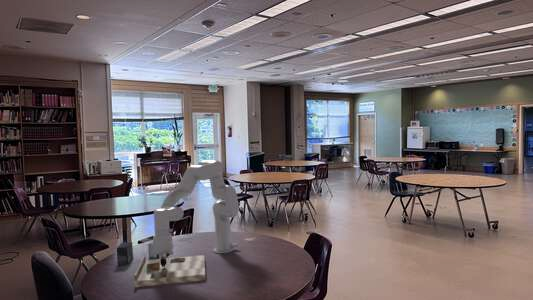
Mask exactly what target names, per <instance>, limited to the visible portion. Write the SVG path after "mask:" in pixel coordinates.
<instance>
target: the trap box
mask: <svg viewBox="0 0 533 300" xmlns="http://www.w3.org/2000/svg"><path fill="white" fill-rule="evenodd" d="M146 259H147V258H146V255H143V256H142V258H141V260H140V262H139V265H138V266H137V269H136V271H135V273H134V276H133V277H134V278H133V279H134V288H140V287H141V288H142V287H150V286H160V285H161V286H162V285H172V284H180V283H181V284H182V283H190V282H198V281H206V265H205V263H206V262H205V254H204V255H191V256H183V257H182V256H181V257H169V258H168V257H167V258H166V265H165V267H164V266H163V267H162V265H160V268H159V270H158V271H148V272H147V262H148V260H149V259H148V260H146Z"/></svg>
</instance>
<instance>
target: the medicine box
mask: <svg viewBox="0 0 533 300" xmlns="http://www.w3.org/2000/svg"><path fill="white" fill-rule="evenodd" d="M147 249H148V258H158V257H157V256H153V241H150V242H149V243H147ZM164 255H165V254H162V257H164Z"/></svg>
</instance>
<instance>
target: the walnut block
mask: <svg viewBox="0 0 533 300" xmlns="http://www.w3.org/2000/svg"><path fill="white" fill-rule="evenodd" d="M159 268H160V259H159V258H158V259H148V262H147V272H148V271H158V270H159Z"/></svg>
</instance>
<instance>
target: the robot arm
mask: <svg viewBox="0 0 533 300" xmlns="http://www.w3.org/2000/svg"><path fill="white" fill-rule="evenodd" d="M223 170H224V164H223V162H221V161H220V160H210V159H204V160H200V161H199V162H198V164H197V165H196V164H193V165H190V166H188V167H187V168H186V170H185V172H184V174H183V176H182V178H181V180H180V182H179V184H178V186H177V187H175V188H174V190H172V191H171V192H170V193H169V194H168V195H167V196H166V197H165V199H164V200H163V202H162V204H161V207H160V208H156V209H155V210H154V211H153V223H154V233H153V236H152V242H153V256H157V257H156V258H158V259H160V265H162V267H163V266H164V267H165V265H166V259H167V258H168V257H170V256H172V255H173V254H174V250H173V248H174V245H173V236H172V232H173V229H172V228H170V222H176V221H179V220H182V219H183V217H184V215H185V214H184V210H183V208H182V207H180V206H176V204H177V202H179V201H180V200H181V199H183V198H185V197H188V196H190V195H191V194H192V193H193V190H194V189H195V187H196V186H197V182H198V181H206V180H209V183H210V189H211V195H212V197H213V199H215V200H217V201H216V202H214V203H213V205H212V213H213V216H214V217H213V218H214V230H215V231H214V233H215V234H214V236H215V247H214V248H213V249H212V250H213V251H212V252H213V253H215V254H227V253H228V254H229V253H231V252H233V251H234V248H238V247H239V243H236V242H235V243H232V241H231V221H230V218H236V217H237V216H238V215H239V212H240V211H239V210H240V207H239V200H238V194H237V190H236V188H235V187H234V186H233V185H229V184H226V183H225V180H224V176H223V174H222V172H223ZM162 254H164V255H163V256H162Z"/></svg>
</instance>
